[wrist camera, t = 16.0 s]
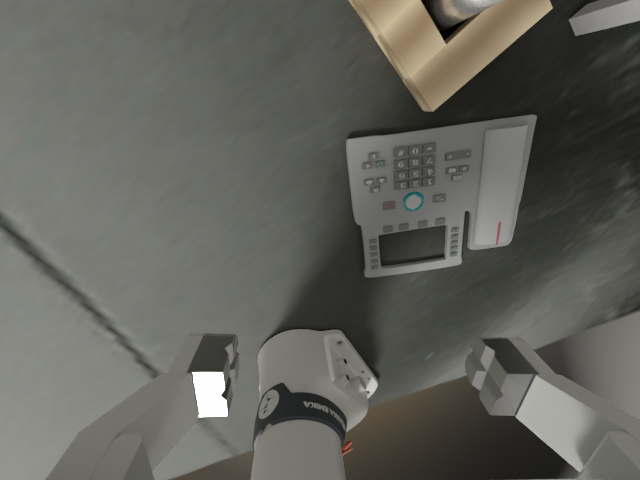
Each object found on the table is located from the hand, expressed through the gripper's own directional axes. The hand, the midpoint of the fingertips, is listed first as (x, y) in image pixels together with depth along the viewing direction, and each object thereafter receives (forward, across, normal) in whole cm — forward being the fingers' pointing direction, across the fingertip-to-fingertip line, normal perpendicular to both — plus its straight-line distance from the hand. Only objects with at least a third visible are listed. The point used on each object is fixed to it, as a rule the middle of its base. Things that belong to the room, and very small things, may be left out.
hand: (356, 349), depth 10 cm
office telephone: (+31, -16, +4) cm, 35 cm away
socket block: (+30, -12, -18) cm, 37 cm away
